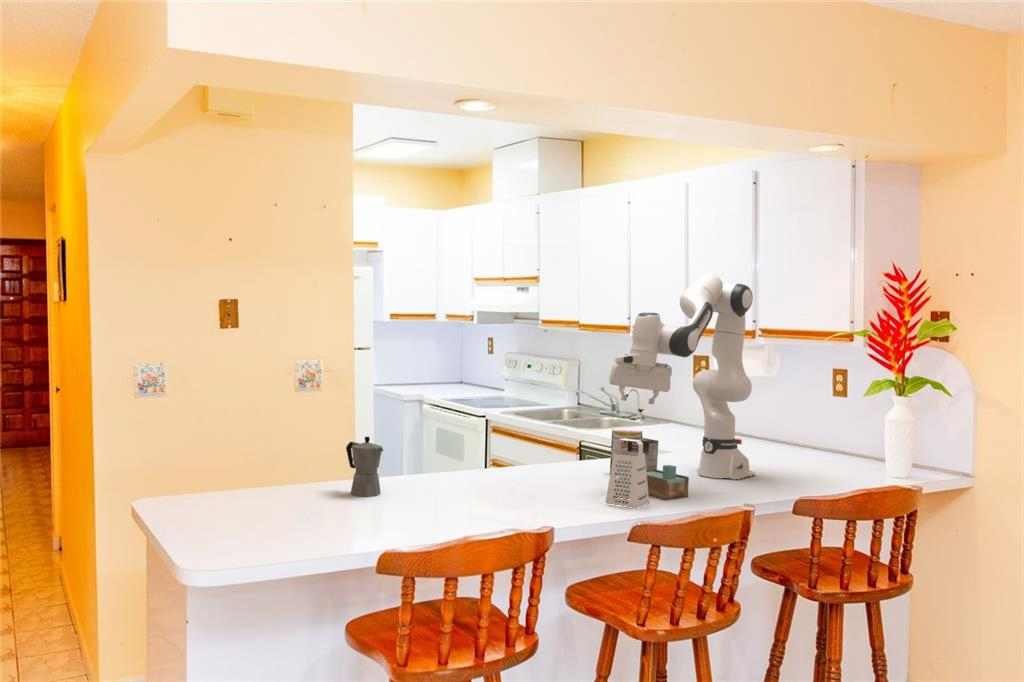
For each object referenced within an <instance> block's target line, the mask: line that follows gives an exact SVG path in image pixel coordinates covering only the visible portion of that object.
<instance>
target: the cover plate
mask: <svg viewBox="0 0 1024 682" xmlns="http://www.w3.org/2000/svg"><path fill="white" fill-rule="evenodd" d="M662 471H663V473H658V472H654V471H652V472H647V475H650V476H654V477H658V478H662V479H667V484H672V483H680V482H685V479H684V478H680V477H676V474H677V466H676V465H671V464H664V465H662Z"/></svg>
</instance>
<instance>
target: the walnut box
mask: <svg viewBox="0 0 1024 682" xmlns="http://www.w3.org/2000/svg"><path fill="white" fill-rule="evenodd" d="M652 471H654V472H658V473H663V470H659V469H657V470H656V469H649V470H646V472H652ZM676 477H680V478H684V479H685V482H680V483H672V484H667V479H662V478H658V477H654V476H650V475H647V484H648V495H649V497H650V496H652V497H651V498H654V497H656V498H655V499H658V498H659V500H663V501H667V500H675V499H676V500H677V499H681V498H688V497H689V483H690V482H689V480H690V479H689V478H690V477H689V476H686V475H682V474H678V473H676Z"/></svg>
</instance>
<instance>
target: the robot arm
mask: <svg viewBox="0 0 1024 682" xmlns="http://www.w3.org/2000/svg"><path fill="white" fill-rule="evenodd" d="M679 297H680V298H679V306H680V310H681V311H682V313H683V314H684V315H685V316H686V317H687V318H689V319H690V321H689V323H688V324H686V325H683V326H675V325H674V326H673V325H666V324H664V322H662V321H661V315H660V314H659V313H657V312H639V313H638V314H637V315H636V316H635V317H636V318H635V320H634V323H633V324H634V325H633V329H632V334H631V335H632V336H631V339H632V345H631V347H630V351H629V353H627V354H623V355H618V356H615V358H614V362H615V363H614V364H613V365H612V368H611V370H610V373H609V379H608V382H609V384H610V385H612V386H618V390H619V392H620V393H619V394H620V395H621V396H620V401H624V402H626V401H627V400H628V395H625V391H624V390H625V389H626V387H627V388H635V389H640V390H641V389H642V390H649V391H652V394H653V395H652V397H651V398H648V401H647V403H648V405H655V400H656V398H657V397H658V396H659V393H660V392H662V393H663V392H664V393H668V392H669V391H670V390H671V377H672V374H673V373H672V372H673V368H672V366H670V365H669V364H667V363H661V362H657V357H658V354H660V355H667V356H668V355H669V356H677V357H681V358H688V357H690V356H691V355H692V354H693V353H695V351H696V350H697V348H698V345H699V341H700V339H701V337H702V336H703V333H704V332H705V330H706V329H707V327H708V325H709V324H710V322H711V321H712V318H713V314H714V313H717V318H716V321H715V324H714V325H715V326H714V331H713V336H712V337H713V338H712V344H711V354H712V356H713V357H714V358H715V360H716V363H717V368H718V369H705V370H701V371H698V372H697V373H696V374H695V375H694V377H693V379H692V387H693V390H694V393H695V394H697V396H698V398H699V400H700V403H701V406H702V410H703V416H704V430H703V432H704V434H703V435H704V436H702V447H703V448H702V450H701V453H700V459H699V467H698V468H697V469H696V471H697V475H700V476H703V477H704V478H705V477H706V478H712V479H722V478H731V479H730V480H736V479H738V480H740V479H739V478H742V479H744V478H743V477H746V478H748V477H747V476H750V477H752V476H751V475H754V476H756V475H755V474H756V472H755V471H752V470H750V461H749V459H748V457H747V456H746V455H745V454H743V452H742V451H741V450H739V448H738V447H739V446H738V445H742V443H743V439H742V438H741V439H740V438H736V433H735V432H736V416H735V415H734V413H733V412H732V411H731V410H730V408H729V404H728V402H729V403H737V402H738V403H739V402H745V401H746V400H747V399H748V398H749V397H750V396H751V393H752V388H753V385H752V382H751V379H750V378H749V377H748V375H747V374H746V372H745V369H744V368H745V367H744V363H743V350H744V342H745V333H746V313H747V312H748V311H749V310H750V308H751V306H752V304H753V299H754V298H753V297H754V296H753V292H752V290H751V289H750V287H749V285H746V284H742V283H732V282H724V281H722V279H721V278H720V277H719V276H718V275H716V274H714V273H705V274H702V275H701V276H699V277H698V278H696V279H695V280H694V281H693V282H691V284H690V285H689V286H688V287H686V289H685V290H683V292H682V293H681V295H680V296H679Z"/></svg>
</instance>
